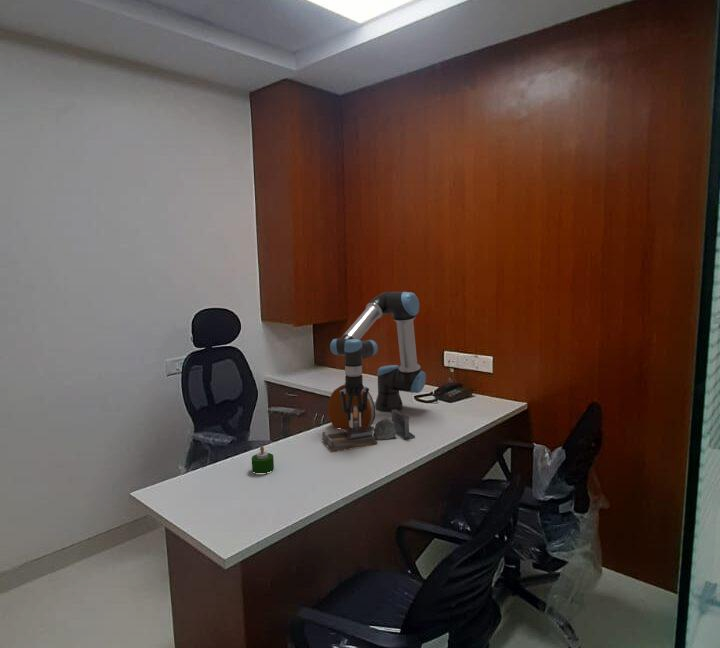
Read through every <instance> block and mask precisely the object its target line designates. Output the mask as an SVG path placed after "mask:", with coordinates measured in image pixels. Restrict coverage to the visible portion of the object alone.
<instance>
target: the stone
mask: <svg viewBox="0 0 720 648" xmlns="http://www.w3.org/2000/svg"><path fill="white" fill-rule="evenodd" d="M395 427H396V426H395V424H394V422H393V421H392V419H390V418H388V417H386V416H384V417H382V418H381V419H380V420H379V421H377V422H376V423H375V426H374V429H373V437H374V439H375V440H378V441H379V440H389V439H393V438H395V436H396V434H397V433H396V428H395Z"/></svg>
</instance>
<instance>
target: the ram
mask: <svg viewBox="0 0 720 648" xmlns="http://www.w3.org/2000/svg"><path fill="white" fill-rule="evenodd" d="M351 413H353V428H347V429H345V430H344V432H345V437H346V438H347V439H348V440H354V439H360V438H367V437H374V436H373V434H374V432H373V430H371V428H370V427H367V426H361V427H358V420H359V413H358V406H352V409H351Z"/></svg>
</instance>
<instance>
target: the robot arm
mask: <svg viewBox="0 0 720 648" xmlns="http://www.w3.org/2000/svg"><path fill="white" fill-rule="evenodd" d="M419 312H420V301H419V298H418V296H417V295H416V294H415V293H414V292H411V291H410V292H409V291H386V292H382V293H379V294H378V295H376V296H375V297H373V298H372V299H371V300H370V301H369V302H368V303H367V304H366V305H365V310H363V311H362V313H361V314H360V315H359V316H358V317H357V318H356V320H354V322H353V323H352V324H351V325H350V327H349V328H348V329H347V330H346V331H345V332H344V333H343V334H342V336H341V337H340V338H333V339H332V340H331V341H330V344H329V348H330V349H329V350H330V352H331V353H332V354H333V355H335V356H343V357H344V374H345V381H344V383H345V382H346V386H345V389H343V390H340V391H339V392H340V394H341V399H342V409H343V411H344V412H345V413H347V419H348V420H349V426H350V427H351V428H353V413H351V407H352V400H353V396H355V395H356V398H357V403H358V408H359V411H358V413H359V420H358V426H359V427H361V419H363V412H364V410H366V409H367V395H368V391H369V392H370V388H368V387H366V386H364V384H363V382H364V381H363V375H362V374H363V359H367V358H371V357H373V356H375V355H376V354H377V353H378V350H379V349H378V348H379V346H378V344H377V342H376V341H375V340H373V339H367V340H361V339H362V337H363V336H364V335H365V334H366V333H367V332H368V331H369V329H370V328H371V327H372V326H373V324H374V323H375V322H376V321H377V320H378V319H381V318H383V316H384V315H392V318H393V319H392V320H393V321H394V322H396V329H397V330H396V331H397V339H398V349H399V359H400V366H399V365H398V364H393V365H392V364H390V365H384V366H380V367H379V368H377V396H376V399H375V403H374V405H375V410H378V411H380V412H381V411H382V412H392V410H393V409H396V410H398V411H400V410H402V409H403V401H402V397H401V394H400V392H406V393H411V394H413V393H414V394H418V393H420V392H422V390H423V389H424V388H425V385H426V380H427V375H426V372H425V371H423V370H421V369H422V368H421V365H420V364H419V363H418V358H417V357H418V356H417V346H416V337H415V336H416V335H415V326H414V320H415V319H416V318H417V317H416V316H417V315H418V313H419ZM362 390H363V405H362V402H361V394H360V393H361V391H362ZM346 392H347V393H348V403H347V407H346V397H345V394H346Z"/></svg>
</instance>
